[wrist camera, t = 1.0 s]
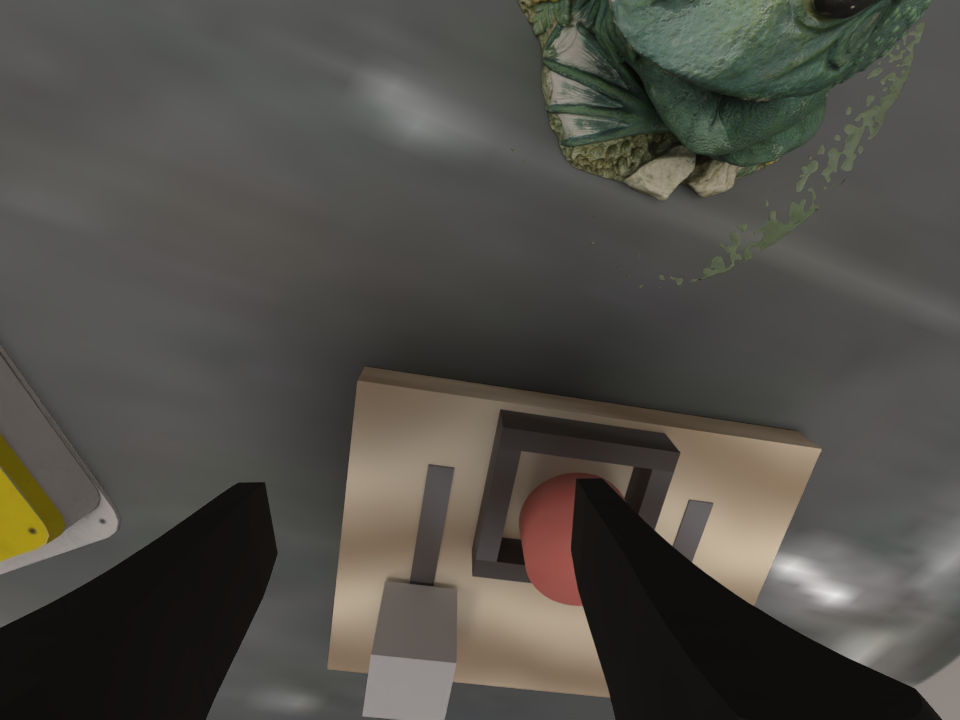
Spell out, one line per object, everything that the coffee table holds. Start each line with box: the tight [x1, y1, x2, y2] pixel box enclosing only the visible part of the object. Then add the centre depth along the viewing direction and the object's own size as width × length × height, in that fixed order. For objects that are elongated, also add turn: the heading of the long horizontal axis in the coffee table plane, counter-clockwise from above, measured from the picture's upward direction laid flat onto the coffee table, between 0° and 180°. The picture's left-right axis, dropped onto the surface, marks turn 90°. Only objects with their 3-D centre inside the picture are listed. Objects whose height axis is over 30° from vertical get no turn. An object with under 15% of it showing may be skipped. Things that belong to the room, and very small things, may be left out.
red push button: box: [519, 473, 626, 606], centre depth 18 cm, size 4×4×2 cm
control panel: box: [327, 366, 822, 698], centre depth 22 cm, size 14×18×3 cm
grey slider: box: [363, 581, 457, 720], centre depth 20 cm, size 3×3×4 cm
